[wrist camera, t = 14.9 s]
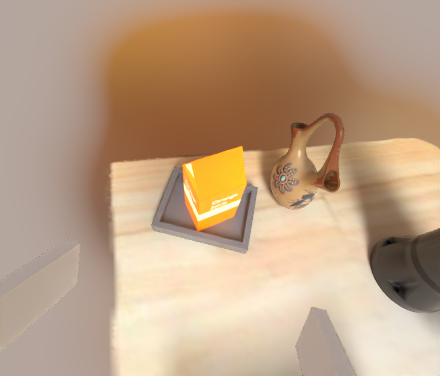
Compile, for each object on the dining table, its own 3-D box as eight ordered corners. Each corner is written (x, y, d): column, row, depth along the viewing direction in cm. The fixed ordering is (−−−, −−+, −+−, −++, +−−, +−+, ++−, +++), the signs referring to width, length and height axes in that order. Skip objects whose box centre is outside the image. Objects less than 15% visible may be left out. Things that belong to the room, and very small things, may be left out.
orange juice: (234, 217, 51) (255, 164, 34) (197, 232, 48) (200, 183, 31) (219, 189, 54) (231, 128, 37) (184, 201, 52) (180, 142, 34)
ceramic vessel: (255, 170, 59) (291, 85, 38) (287, 166, 61) (337, 82, 40) (278, 229, 52) (339, 165, 30) (313, 222, 53) (394, 156, 32)
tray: (254, 193, 56) (257, 187, 53) (244, 253, 48) (247, 249, 45) (175, 174, 56) (175, 167, 54) (153, 230, 49) (151, 225, 46)
